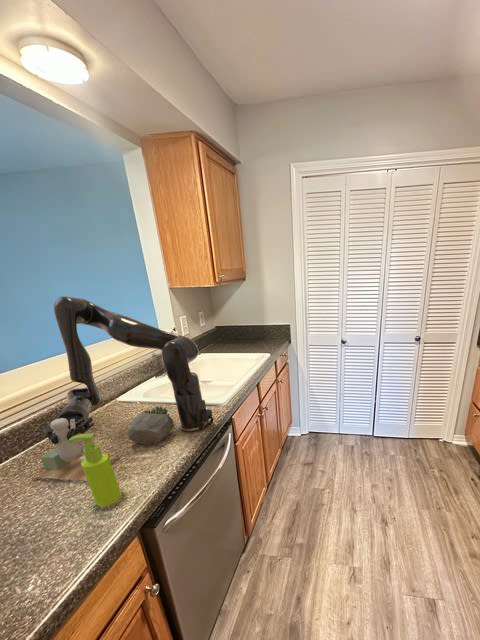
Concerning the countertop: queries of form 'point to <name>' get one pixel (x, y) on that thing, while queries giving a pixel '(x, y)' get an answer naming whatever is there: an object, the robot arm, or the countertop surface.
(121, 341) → the robot arm
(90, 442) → the soap dispenser
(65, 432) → the salt shaker
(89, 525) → the countertop surface
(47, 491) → the countertop surface
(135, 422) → the potted plant
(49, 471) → the wood board
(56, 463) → the sage green cube
